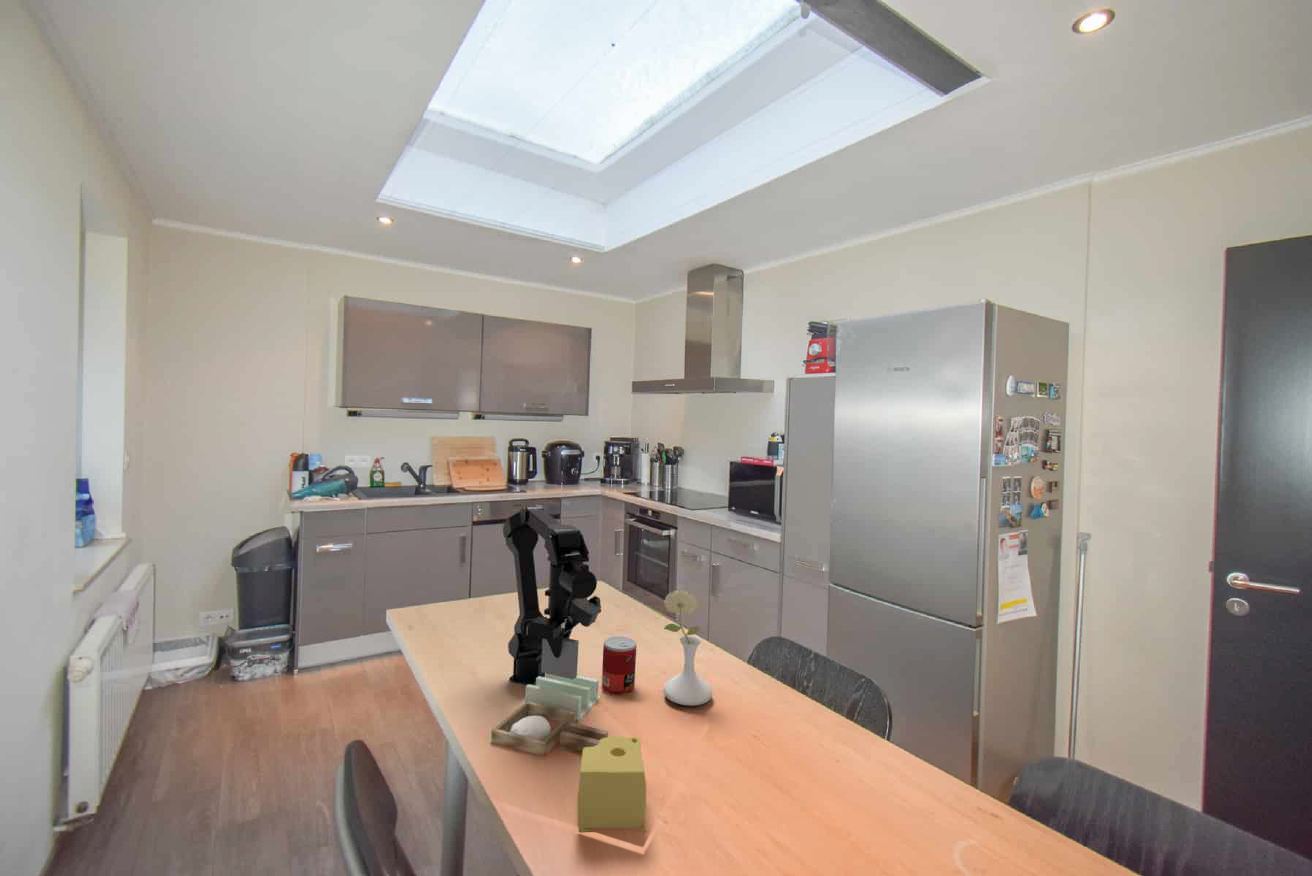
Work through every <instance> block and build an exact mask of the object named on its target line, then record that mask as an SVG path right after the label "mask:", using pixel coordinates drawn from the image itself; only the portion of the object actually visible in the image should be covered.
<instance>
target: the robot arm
mask: <svg viewBox="0 0 1312 876" xmlns="http://www.w3.org/2000/svg"><path fill="white" fill-rule="evenodd" d="M502 526H503V527H502V533H503V537H504V539H505V545H506V547H507V548H508V550H509V551H510V552H511V554H512V555H513V558H514V571H515V579H516V588H517V599H518V610H519V611H518V612H519V615H518V617H517V620H516V621H515V624H514V627H513V629H514V630H513V631H514V634H513V635H512V637H511V638H510V640H509V642H508V644H507V648H508V653H509V655H510V657H512V658H513V666H512V667H513V669H512V675H511V676H510V677H509V679H508V681H512V682H516V683H519V684H525V685H528V684H531V685H535V684H536V678H537V677H539V676H540V677H544V676H546V673H542V672H541V663H542V641H543V639H546V640H547V642H548V644H549V646H550V648H551V650H552V652H553V655H554V657H556V658H559V657H560V653H561V648H562V641H563V637H564V638H569V639H570V637H571V635H572V632H573V629H574V628H575V627H576V626H577V625H578V624H581V626H583V627H584V628H585V627H586V628H588V627H590V626H591V625H592V624H594V623H595V622H596V620H597V618H598V615H599V614H600V613H601V612H602V605H601V598H600V597H599V596H597V595H593V594H594V593H595V591H596V589H597V585H598V581H597V577H596V576H595V574H594V573H593V572H592V571H590V566H589V564H588V562H590V558H589V550H588V547H587V545H586V542H585V539H584V536H583V534H582V533H583V532H581V529H579V527H576V526H574V525H569V524H562V523H560V522H559V521H558V520H557V519H556V518H554V517H553V516H552V515H551V514H549V513H548V512H546V511H545V509H544V507H543V506H541V505H531V506H524V507H521V508H520V510H519V512H517V513H515V514H513V515H510V516H509V517H507V519H506V521H505V522H504V524H503V525H502ZM539 536H540V537H541V538H542V539H544V549H546V552H547V554H548V556H547V561H548V562H549V585H548V588H547V589H546V590H544V596H545V597H548V604H547V605H548V606H547V607H546V608H544V609H543V614H544V615H546V616H544V615H543V614H542V612H541V611H540V603H539V594H538V585H537V584H538V583H537V574H536V566H535V565H536V564H535V557H534V551H535V549H536V547H537V544H538V542H539ZM592 595H593V596H592ZM591 596H592V597H591ZM588 598H589V599H588ZM547 616H549V617H547Z"/></svg>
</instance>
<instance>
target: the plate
mask: <svg viewBox="0 0 1312 876" xmlns="http://www.w3.org/2000/svg"><path fill="white" fill-rule="evenodd" d="M579 641H580V640H577V639H572V638H570V637H569V638H564V637H563V641H562V648H561V653H560V657H559V658H556V657H554V655H553V652H552V650H551V648H550V646H549V644H548V642H547V640H546V639H543V641H542V663H541V672H542V673H545V674H546V673H547V674H551V675H555V676H560V677H564V678H569V679H573V680H574V679H575V678H576V677H577V675H578V663H579V658H578V657H579V643H580V642H579Z"/></svg>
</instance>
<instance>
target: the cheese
mask: <svg viewBox="0 0 1312 876" xmlns="http://www.w3.org/2000/svg"><path fill="white" fill-rule="evenodd" d="M641 742H642V741H641V737H632V736H629V737H626V736H612V737H611V736H610V737H609V736H608V737H607V738H603V739H600V741H599V742H598V744H597V745H596V746H593V747H585V748H583V753H582V755H581V761H580V769H579V778H578V779H579V781H578V790H577V809H576V810H577V813H576V814H577V825H578V833H596V831H594V830H591V829H611V828H614V829H615V828H616V829H617V828H620V829H621V828H643V823H644V819H645V814H646V807H647V806H646V804H647V781H646V774H645V767H644V762H643V758H642V751H641V750H642V746H641V744H642V743H641Z"/></svg>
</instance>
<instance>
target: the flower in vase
mask: <svg viewBox="0 0 1312 876" xmlns="http://www.w3.org/2000/svg"><path fill="white" fill-rule="evenodd" d="M696 600H697V598H696V596H695V595H693V594H689V592H688V591H682V590H679V591H678V590H674V591H673V592H669V593H668V594H666V596H665V598H664V600H663V601H662V603H663V604H664V607H665V608H666V610H667V611H668V612H669V613H671V614H674V613H675V615H676V616H677V615H678V616H679V625H677V624H675V623H668V624H667V625H665V626H664V627H663V630H667V631H670V632H673V633H677V632H678V631H680V630H681V632H682V633H683V635H684V636H682V637H680V638H679V641H680V642H679V643H680V644H681V646H682V647H683V653H684V666H683V669H682V671H681V672H680V673H678V674H677V675H675V676H673V677H672V678H671V679H669V680H668V681H667V682H666V683H665V685H664V686H663V693H664V695H665V697H666V698H667V699H668V700H670V701H671V702H672V703H676V704H678V705H681V706H682V705H683V706H687V707H689V706H690V707H693V706H699V705H705V704H706V703H707V702H709V701H710V700H711V698H712V697H713V691H712V687H711V686H710V685H709V683H707V681H706V680H705V679H703V678H702V677H701V676H700V675H698V674H697V672H696V669H695V657H696V652H697V648H698V647H699V646H700V644H701V643H702V640H701V639H700V638H699V637H697V636H694V635H696V634H698V632H700V630H702V627H703V625H698V626H693V627H691V628H690V629H689V630H688V631H687V633H686V632H685V631H684V629H683V627H682V626H683V625H682V616H684V615H690V614H693V613H694V612H695V611H696V610H697V608H698V607H699V605H698V601H696Z"/></svg>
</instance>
